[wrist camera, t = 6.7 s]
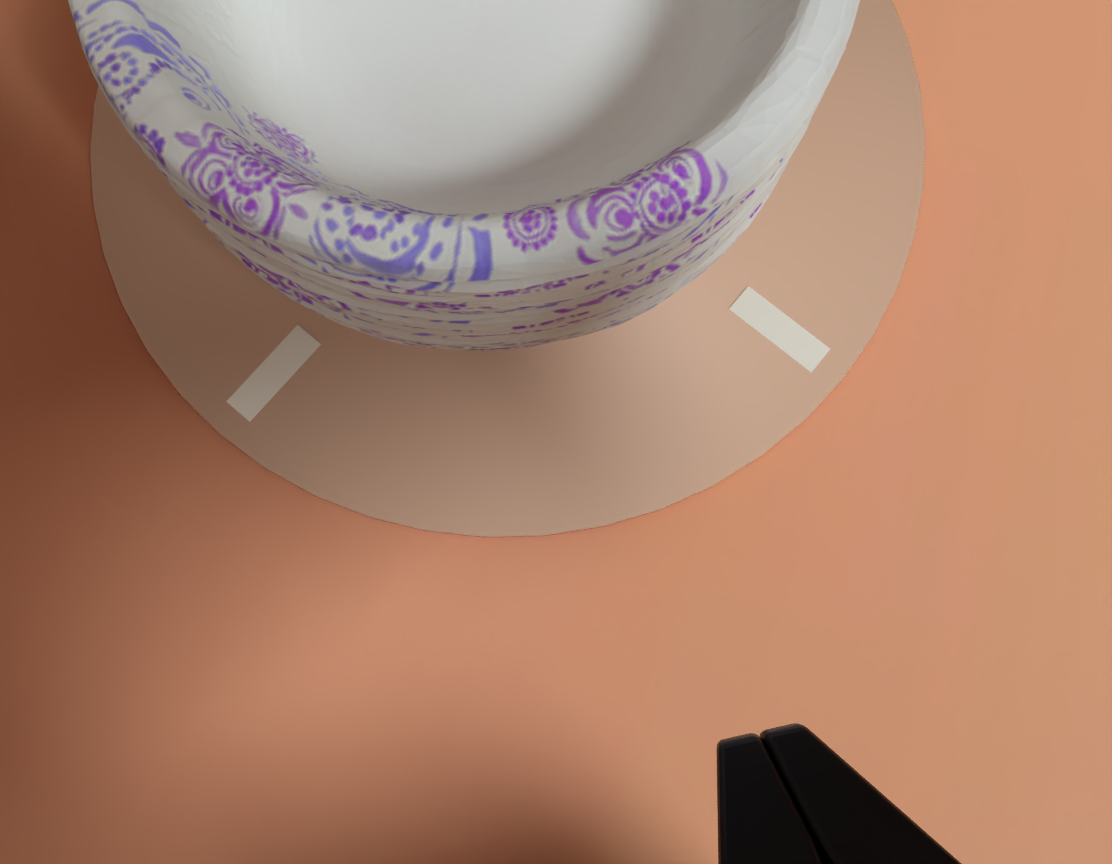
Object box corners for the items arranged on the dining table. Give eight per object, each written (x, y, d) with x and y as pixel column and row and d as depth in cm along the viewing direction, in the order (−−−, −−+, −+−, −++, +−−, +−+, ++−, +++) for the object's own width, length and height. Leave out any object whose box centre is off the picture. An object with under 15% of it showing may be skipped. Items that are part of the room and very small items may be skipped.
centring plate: (1084, 76, 25) (1089, 71, 25) (560, 730, 22) (560, 731, 22) (466, -352, 28) (466, -359, 28) (-80, 172, 25) (-86, 168, 25)
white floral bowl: (753, -147, 27) (833, -464, 19) (806, 377, 24) (927, 256, 16) (211, -125, 27) (66, -436, 19) (195, 404, 24) (15, 296, 16)
